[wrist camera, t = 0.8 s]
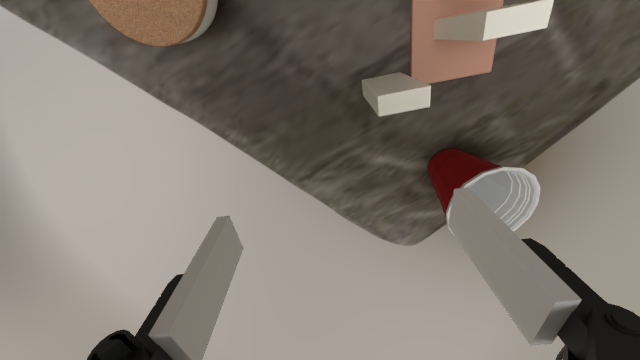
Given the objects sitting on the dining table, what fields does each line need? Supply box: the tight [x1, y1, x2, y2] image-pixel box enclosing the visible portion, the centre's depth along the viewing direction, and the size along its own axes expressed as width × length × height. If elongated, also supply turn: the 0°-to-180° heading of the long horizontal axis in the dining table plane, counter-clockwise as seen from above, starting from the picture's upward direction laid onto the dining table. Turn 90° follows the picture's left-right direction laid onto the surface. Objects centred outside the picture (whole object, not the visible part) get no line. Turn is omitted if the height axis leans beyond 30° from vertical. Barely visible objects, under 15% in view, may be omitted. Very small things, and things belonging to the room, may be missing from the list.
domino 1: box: [361, 72, 431, 117], centre depth 27 cm, size 2×5×10 cm, turn 101°
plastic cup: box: [428, 149, 541, 238], centre depth 33 cm, size 11×11×12 cm
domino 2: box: [433, 0, 554, 41], centre depth 23 cm, size 2×5×10 cm, turn 101°
